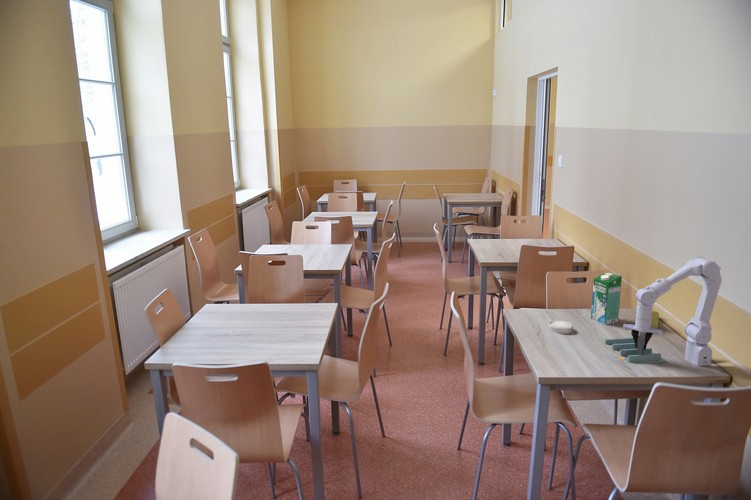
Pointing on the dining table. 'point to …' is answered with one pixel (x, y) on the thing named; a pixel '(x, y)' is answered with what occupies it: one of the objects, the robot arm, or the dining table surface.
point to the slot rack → (634, 351)
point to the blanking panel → (640, 344)
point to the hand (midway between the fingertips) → (640, 348)
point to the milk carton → (606, 298)
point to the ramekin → (560, 327)
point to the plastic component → (654, 319)
